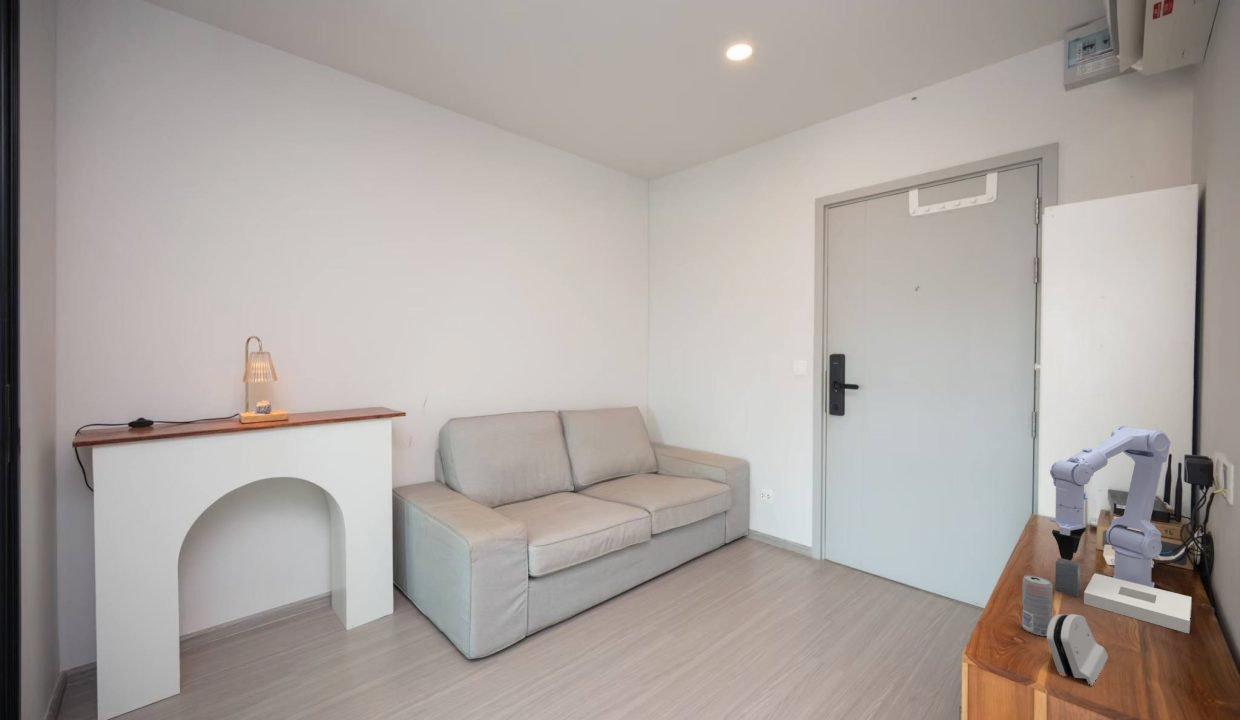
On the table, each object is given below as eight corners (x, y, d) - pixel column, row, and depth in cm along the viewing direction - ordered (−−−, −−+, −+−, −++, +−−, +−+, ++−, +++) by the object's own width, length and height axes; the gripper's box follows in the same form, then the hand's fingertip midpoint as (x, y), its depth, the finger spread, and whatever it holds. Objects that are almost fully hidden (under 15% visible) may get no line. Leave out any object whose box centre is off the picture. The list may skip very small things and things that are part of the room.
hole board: (1094, 583, 141) (1094, 573, 141) (1191, 608, 127) (1191, 597, 127) (1083, 603, 129) (1084, 592, 129) (1189, 633, 115) (1189, 620, 115)
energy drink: (1045, 627, 118) (1045, 576, 118) (1056, 639, 113) (1057, 586, 113) (1017, 622, 120) (1018, 573, 119) (1027, 634, 115) (1028, 582, 114)
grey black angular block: (1092, 688, 96) (1070, 631, 99) (1062, 684, 100) (1041, 630, 102) (1108, 656, 106) (1087, 606, 109) (1080, 654, 110) (1060, 605, 112)
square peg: (1058, 586, 139) (1058, 557, 139) (1080, 591, 136) (1080, 562, 136) (1055, 590, 136) (1055, 561, 136) (1077, 597, 133) (1077, 567, 133)
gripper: (1055, 497, 143) (1054, 544, 144) (1045, 507, 134) (1044, 557, 134) (1088, 503, 138) (1087, 552, 138) (1080, 513, 129) (1079, 566, 129)
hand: (1068, 555), depth 136 cm, fingers open, 7 cm apart
